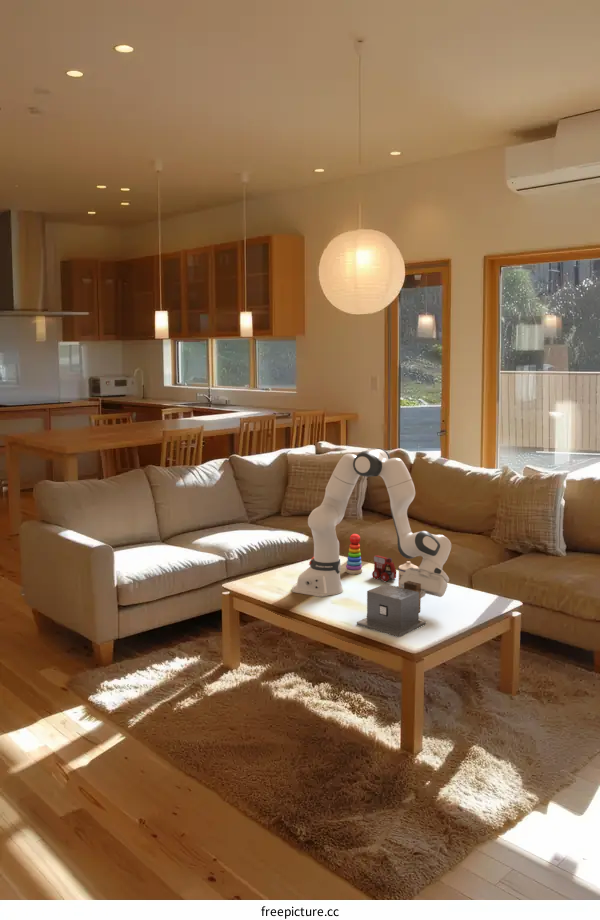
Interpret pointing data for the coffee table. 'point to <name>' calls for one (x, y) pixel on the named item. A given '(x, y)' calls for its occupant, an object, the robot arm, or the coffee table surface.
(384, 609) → the shaft
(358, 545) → the stacking toy
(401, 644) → the coffee table surface
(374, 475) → the robot arm
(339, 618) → the coffee table surface
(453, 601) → the coffee table surface
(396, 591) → the bearing block
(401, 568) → the teacup with lid
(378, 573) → the toy fire truck
